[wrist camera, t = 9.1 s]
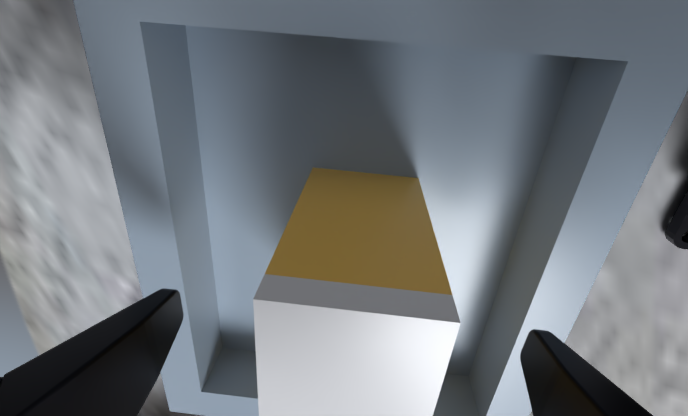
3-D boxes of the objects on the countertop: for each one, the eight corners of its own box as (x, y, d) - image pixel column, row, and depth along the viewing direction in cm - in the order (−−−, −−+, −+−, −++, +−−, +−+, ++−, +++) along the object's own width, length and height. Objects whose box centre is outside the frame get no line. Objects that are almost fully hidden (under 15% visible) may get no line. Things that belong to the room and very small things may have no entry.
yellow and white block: (418, 178, 12) (460, 323, 6) (396, 296, 14) (411, 485, 8) (312, 167, 12) (253, 299, 6) (308, 286, 14) (261, 466, 8)
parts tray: (638, -2, 10) (738, -14, 7) (489, 386, 17) (510, 453, 14) (140, -39, 10) (58, -64, 8) (201, 353, 17) (169, 411, 15)
